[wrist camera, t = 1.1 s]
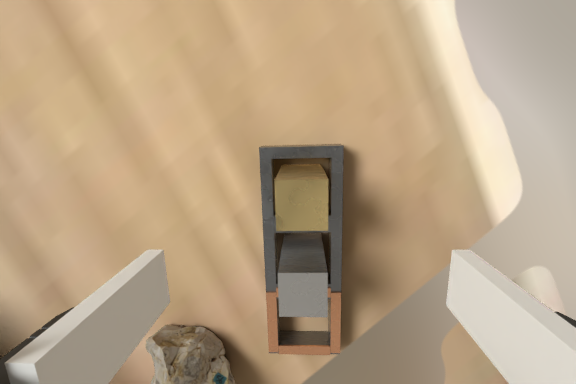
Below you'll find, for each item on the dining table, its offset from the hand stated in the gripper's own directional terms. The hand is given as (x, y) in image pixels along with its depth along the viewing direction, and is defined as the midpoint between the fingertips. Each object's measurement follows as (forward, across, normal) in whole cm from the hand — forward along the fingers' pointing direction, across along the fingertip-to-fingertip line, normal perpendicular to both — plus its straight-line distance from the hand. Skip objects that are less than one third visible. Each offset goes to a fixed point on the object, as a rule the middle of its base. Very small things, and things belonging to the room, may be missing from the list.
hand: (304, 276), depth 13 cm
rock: (+22, -14, -22) cm, 34 cm away
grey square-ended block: (+22, 0, -8) cm, 23 cm away
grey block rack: (+22, 0, -8) cm, 23 cm away
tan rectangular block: (+22, 0, 0) cm, 22 cm away
